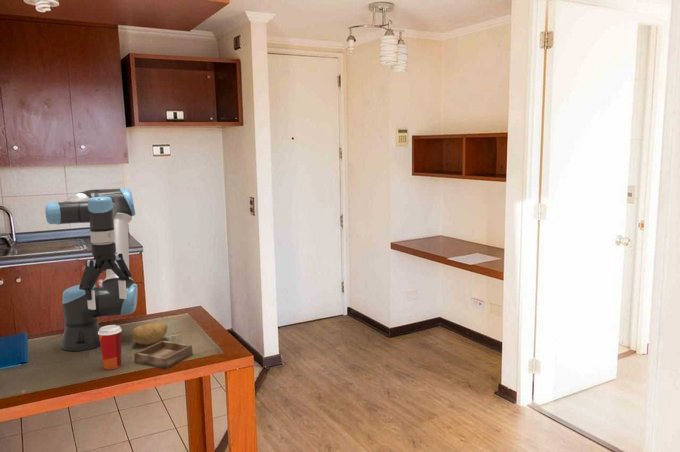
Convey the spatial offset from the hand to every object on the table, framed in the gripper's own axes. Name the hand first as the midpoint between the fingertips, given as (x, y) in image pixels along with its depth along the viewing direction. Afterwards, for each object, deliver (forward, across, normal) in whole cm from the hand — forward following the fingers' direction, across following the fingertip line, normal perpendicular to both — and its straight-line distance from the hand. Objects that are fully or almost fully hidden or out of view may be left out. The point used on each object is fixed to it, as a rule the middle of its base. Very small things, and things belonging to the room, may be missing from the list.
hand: (108, 303), depth 187 cm
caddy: (+23, +12, -12) cm, 28 cm away
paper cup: (+23, 0, 0) cm, 23 cm away
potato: (+23, +23, +4) cm, 32 cm away
